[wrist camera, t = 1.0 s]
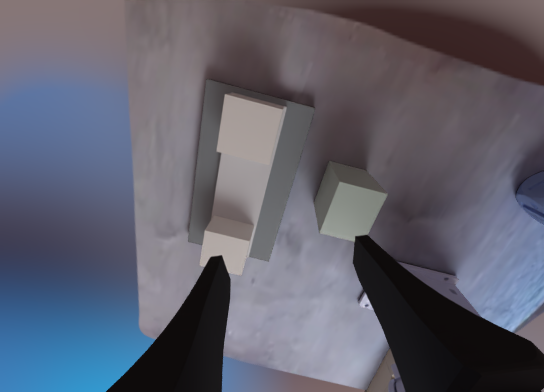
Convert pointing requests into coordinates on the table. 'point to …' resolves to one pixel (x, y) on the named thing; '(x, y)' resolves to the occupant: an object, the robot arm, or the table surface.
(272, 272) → the table surface
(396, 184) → the table surface
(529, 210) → the decorative dice
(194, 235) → the rail board
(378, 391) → the electrical outlet
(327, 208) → the block
